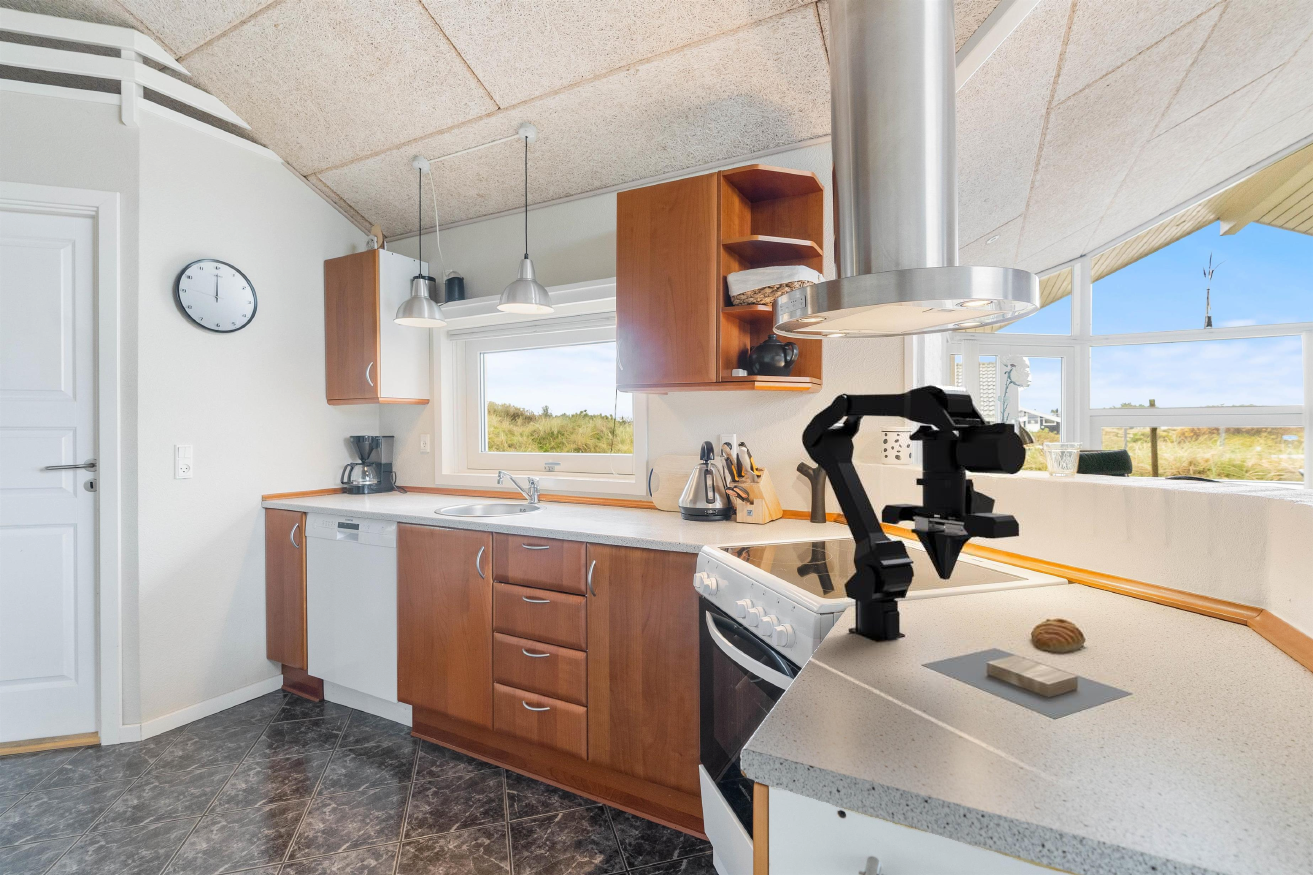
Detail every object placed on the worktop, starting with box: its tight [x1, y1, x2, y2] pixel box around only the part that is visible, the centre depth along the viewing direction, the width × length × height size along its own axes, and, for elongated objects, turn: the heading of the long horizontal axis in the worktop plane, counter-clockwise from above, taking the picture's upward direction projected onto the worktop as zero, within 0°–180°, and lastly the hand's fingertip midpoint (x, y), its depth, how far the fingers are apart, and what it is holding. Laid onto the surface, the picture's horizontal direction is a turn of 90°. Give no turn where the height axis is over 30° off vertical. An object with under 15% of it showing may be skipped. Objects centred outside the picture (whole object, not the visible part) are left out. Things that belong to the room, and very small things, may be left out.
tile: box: [987, 655, 1078, 697], centre depth 75 cm, size 2×6×8 cm
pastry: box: [1030, 618, 1087, 653], centre depth 90 cm, size 9×7×4 cm
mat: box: [921, 647, 1133, 720], centre depth 77 cm, size 18×16×1 cm
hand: (944, 578), depth 84 cm, fingers closed
